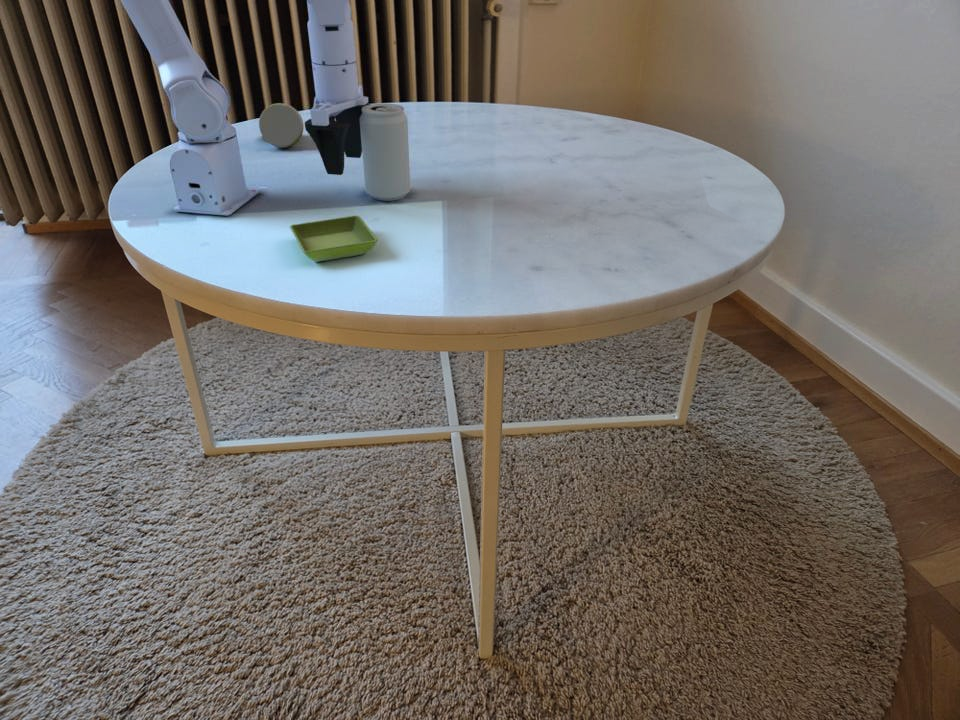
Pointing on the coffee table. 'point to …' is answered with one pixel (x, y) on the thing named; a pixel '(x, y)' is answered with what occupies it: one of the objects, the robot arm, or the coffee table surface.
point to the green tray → (334, 238)
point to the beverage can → (385, 151)
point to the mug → (281, 125)
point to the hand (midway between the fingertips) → (344, 165)
